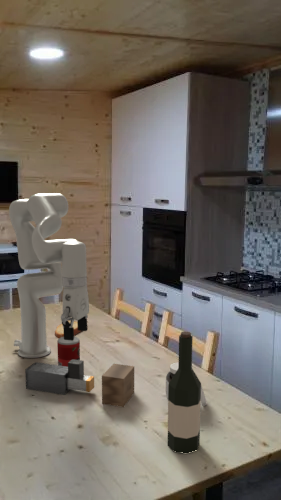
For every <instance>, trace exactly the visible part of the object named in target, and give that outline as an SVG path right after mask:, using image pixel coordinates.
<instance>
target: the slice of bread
mask: <svg viewBox="0 0 281 500" xmlns="http://www.w3.org/2000/svg"><path fill="white" fill-rule="evenodd" d="M68 321H69V320H68ZM70 322H71V321H69V323H70ZM73 327H74V335H75V336H76V335H78V334H80V333H81V332H82V331H79V330H78V323H77V321H76V320H74V323H73ZM54 336H55V338H57V339H59V338H61V337H64V329H63V325H62V323H60V324H58V325H57V326H56V329H55V331H54Z"/></svg>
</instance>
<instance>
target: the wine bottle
mask: <svg viewBox="0 0 281 500" xmlns="http://www.w3.org/2000/svg"><path fill="white" fill-rule="evenodd" d="M193 337H194V336H193V335H192V333H191V332H190V331H181V332H180V334H179V336H178V362H179V366H178V370H177V371H176V373H175V375H174V376H173V378H172V379H171V381H170V383H169V384H168V399H167V447H168V448H169V449H170V450H172V451H173V450H174V451H176V452H175V453H177V452H183V453H189V452H192V451H195V450H197V449H199V447H198V446H200V440H201V439H200V438H201V436H200V435H201V432H200V431H201V405H202V403H201V386H202V382H201V381H200V378H199V377H198V376H197V374H196V372H195V371H194V369H193ZM174 451H173V452H174ZM197 451H198V450H197ZM195 452H196V451H195ZM183 453H182V454H183ZM192 453H193V452H192ZM189 454H190V453H189Z"/></svg>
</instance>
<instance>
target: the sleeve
mask: <svg viewBox="0 0 281 500" xmlns="http://www.w3.org/2000/svg"><path fill="white" fill-rule="evenodd" d="M67 375H68V367H66V366H59V365H58V364H51V363H50V364H49V363H43V362H38V361H37V362H34V363H33V364H31V365H30V366H28V367H26V368H25V389H27V390H31V391H38V392H44V393H51V394H56V395H57V394H58V395H63V396H65V395H66V394H67V393H69V391H70V390H71V389H66V376H67Z"/></svg>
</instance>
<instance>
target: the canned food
mask: <svg viewBox="0 0 281 500" xmlns="http://www.w3.org/2000/svg"><path fill="white" fill-rule="evenodd" d="M80 342H81V341H80V338H79V337H77V336H74V340H73V341H71V340H64V337H61V338H57V342H56V343H57V365H59V366H66V367H68V362H70V361H71V360H72V359H74V360H81V343H80Z"/></svg>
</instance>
